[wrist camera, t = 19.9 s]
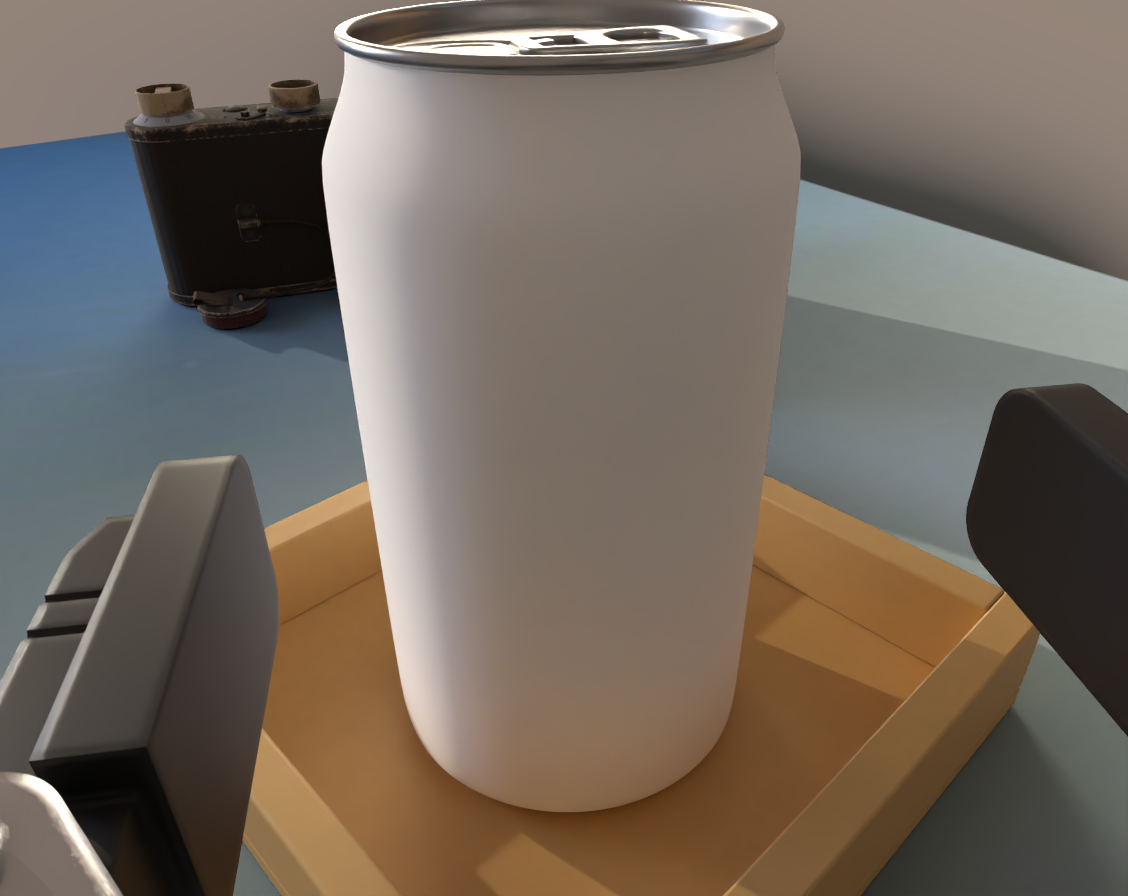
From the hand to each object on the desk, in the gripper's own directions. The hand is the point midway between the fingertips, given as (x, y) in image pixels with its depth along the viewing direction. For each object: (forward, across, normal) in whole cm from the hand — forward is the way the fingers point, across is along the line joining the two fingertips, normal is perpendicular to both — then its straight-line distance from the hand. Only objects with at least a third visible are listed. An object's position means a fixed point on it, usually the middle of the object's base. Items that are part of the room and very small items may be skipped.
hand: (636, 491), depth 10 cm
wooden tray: (+5, 0, +8) cm, 10 cm away
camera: (+28, +5, +9) cm, 30 cm away
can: (+5, 0, +8) cm, 9 cm away
